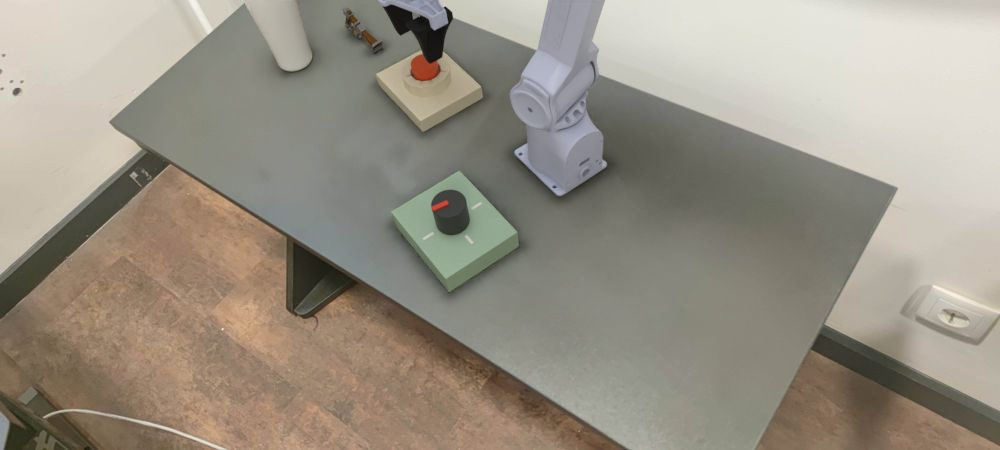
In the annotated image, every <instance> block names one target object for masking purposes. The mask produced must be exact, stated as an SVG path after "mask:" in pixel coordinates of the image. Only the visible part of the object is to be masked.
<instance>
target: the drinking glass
mask: <svg viewBox="0 0 1000 450" xmlns="http://www.w3.org/2000/svg"><path fill="white" fill-rule="evenodd" d="M243 2H244V4H245V7H246V9H247V10H248V12H249V14H250V16H251V17H252V20H253V21H254V23H255V25H256V27H257V28H258V30H259V32H260V35H262V37H263V39H264V40H265V41H264V42H265V43H266V44H267V46H268V48H269V49H270V52H271V53H272V55H273V57H274V60H275V62H276V64H277V66H278V67H279V68H280V69H281V70H283V71H286V72H298V71H301V70H303V69H305V68H306V67H308V66H309V65H310V63H312V60H313V52H312V48H311V46H310V43H309V40H308V36H307V32H306V28H305V26H304V22H303V17H302V15H301V11H300V6H299V3H298V0H243Z"/></svg>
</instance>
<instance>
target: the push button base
mask: <svg viewBox="0 0 1000 450" xmlns="http://www.w3.org/2000/svg"><path fill="white" fill-rule="evenodd" d="M420 54H423V53H422V50H421V49H420V50H418V51H416V52H415V53H413V54H411V55H409V56H407V57H405V58H403V59H401V60H400V61H398V62H395V63H394V64H392V65H390V66H389V67H387V68H385V69H383V70H381V71H378V72H376V74H375V76H376V77H375V78H376V80H377V83H378V86H379V87H380V88H381V90H383V91H384V92H385V93H386V94H387V96H388V97H389V98H390V99H391V100H392V101H393V102H394V103H395V104H396V105H397V107H399V108H400V110H401V111H402V112H403V113H404V114H405V115H406V116H407V117H408V118H409V119H410V120H411V121H412V122H413V123H414V124H415V126H417V128H418V129H419V130H420V131H421V132H422V133H424V132H426V131H428V130H430V129H432V128H433V127H435V126H436V125H438V124H441V123H442V122H444V121H446V120H447V119H449V118H451V117H453V116H454V115H456V114H458V113H459V112H461V111H463V110H465V109H467V108H468V107H470V106H472V105H474V104H475V103H477V102H479V101H481V100H482V99H483V98H484V95H483V88H482V85H480V84H479V83H478V82H477V81H476V80H475V79H474V78H473V77H472V76H471V75H469V73H467V72H466V71H465V70H464V69H463V68H462V67H461V66H460V65H459V64H458V63H457V62H455V61H454V59H452V58H451V57H450V56H449V55H448V54H447V53H446V52H445V51H443V56H442V58H440V59H438V60H437V63H438V68H439V73H438V75H437V76H436V77H435V78H433V79H432V80H428V81H419V80H417V79H416V78H415V77H414V76H413V73H412V68H411V61H412V60H413V58H414V57H416V56H418V55H420Z"/></svg>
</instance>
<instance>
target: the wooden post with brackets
mask: <svg viewBox="0 0 1000 450" xmlns="http://www.w3.org/2000/svg"><path fill="white" fill-rule="evenodd" d="M341 10H342V12H343V13H342V14H343V15H344V16H345V20H344V27H345V28H346V30H348V29H350V30H351V35H354V36H355V39H362V38H364V39H365V40H366V42H367V43H368V44H369V46H370V49H371V53H372V54H374V53H376V52H377V51H379V50H380V49H382V48H383V40H382V39H381V38H380V39H377V38H375V36H373V35H372V34H371V33H370V32H369V31H368V30H367V27H365V26H364V24H363V22H361V21H360V20H358V18H357V17H356V16H355V13H354V12H353V11H352V10H351V9H350V7H346V6H342V9H341Z"/></svg>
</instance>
